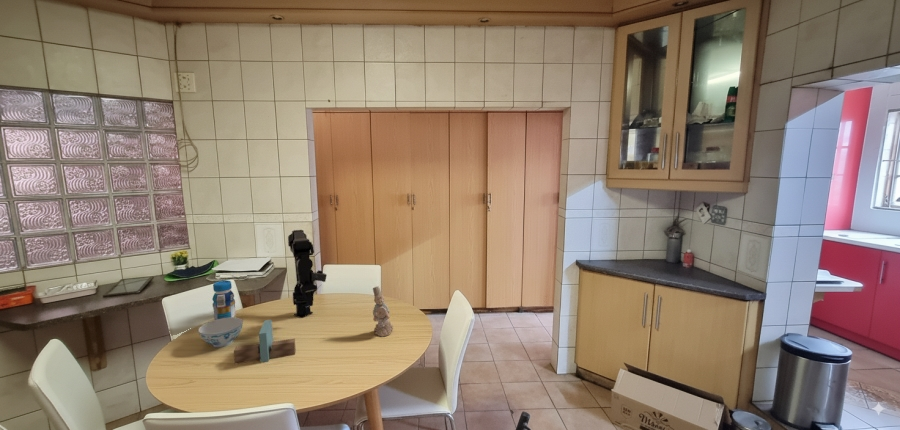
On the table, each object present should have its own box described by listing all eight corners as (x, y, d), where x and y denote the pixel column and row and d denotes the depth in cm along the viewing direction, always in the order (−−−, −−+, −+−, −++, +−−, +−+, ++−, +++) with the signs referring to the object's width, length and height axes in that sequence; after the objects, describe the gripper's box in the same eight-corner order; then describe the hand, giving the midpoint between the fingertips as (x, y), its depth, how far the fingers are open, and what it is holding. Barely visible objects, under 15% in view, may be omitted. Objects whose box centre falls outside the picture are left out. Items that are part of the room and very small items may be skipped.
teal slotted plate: (266, 346, 139) (264, 320, 138) (273, 345, 140) (271, 319, 138) (260, 362, 128) (258, 333, 126) (268, 361, 129) (266, 332, 127)
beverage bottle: (210, 327, 156) (206, 284, 153) (228, 320, 163) (224, 278, 161) (223, 331, 153) (219, 286, 150) (241, 323, 160) (237, 280, 158)
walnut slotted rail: (234, 363, 127) (233, 350, 126) (236, 359, 130) (235, 346, 129) (294, 354, 133) (294, 342, 133) (295, 350, 136) (294, 338, 136)
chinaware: (252, 338, 146) (251, 321, 145) (215, 356, 132) (213, 336, 131) (229, 331, 152) (227, 314, 151) (191, 347, 139) (189, 329, 137)
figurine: (373, 328, 155) (371, 284, 152) (392, 326, 156) (391, 283, 154) (373, 338, 146) (371, 291, 143) (394, 336, 148) (392, 290, 145)
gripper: (326, 266, 148) (332, 302, 149) (320, 262, 165) (326, 295, 166) (298, 272, 143) (304, 310, 144) (295, 268, 160) (300, 301, 161)
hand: (310, 303), depth 154 cm, fingers open, 9 cm apart
